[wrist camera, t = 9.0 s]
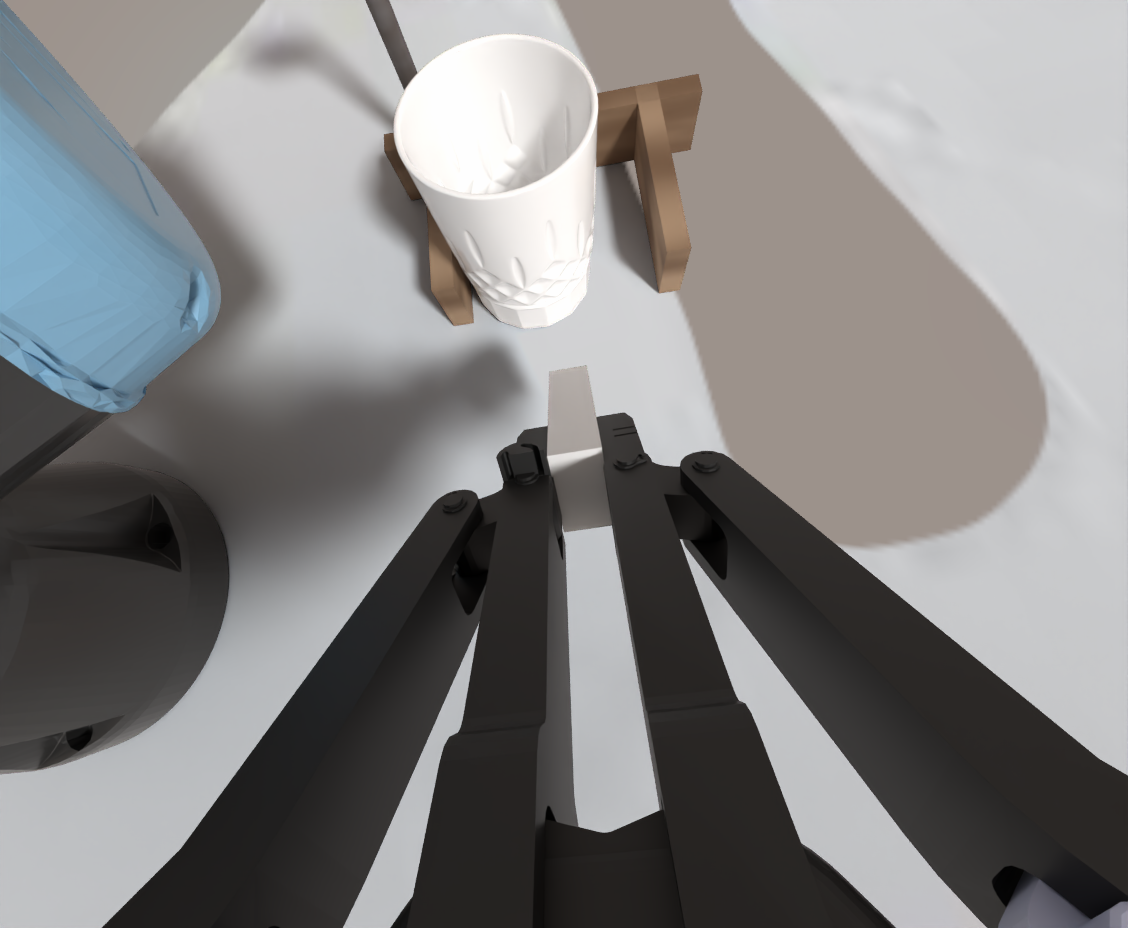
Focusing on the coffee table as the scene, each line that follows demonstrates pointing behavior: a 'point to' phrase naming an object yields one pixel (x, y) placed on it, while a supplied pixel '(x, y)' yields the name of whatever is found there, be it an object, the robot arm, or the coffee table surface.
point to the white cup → (508, 169)
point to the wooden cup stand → (625, 132)
